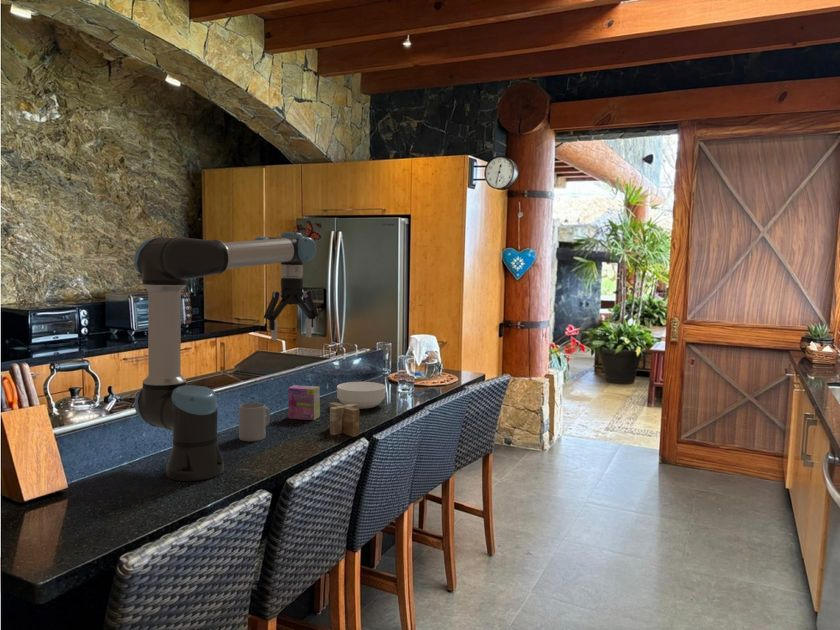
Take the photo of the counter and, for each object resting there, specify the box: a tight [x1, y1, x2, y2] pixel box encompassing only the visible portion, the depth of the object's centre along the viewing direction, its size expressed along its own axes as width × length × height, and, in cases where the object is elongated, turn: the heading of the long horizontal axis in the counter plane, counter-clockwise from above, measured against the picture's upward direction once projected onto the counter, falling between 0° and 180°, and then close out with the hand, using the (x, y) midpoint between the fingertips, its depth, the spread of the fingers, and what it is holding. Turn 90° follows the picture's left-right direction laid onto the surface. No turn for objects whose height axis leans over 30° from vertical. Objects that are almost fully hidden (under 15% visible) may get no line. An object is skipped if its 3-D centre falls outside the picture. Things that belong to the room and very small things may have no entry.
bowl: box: [336, 381, 386, 410], centre depth 260 cm, size 20×20×8 cm
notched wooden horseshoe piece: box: [329, 404, 359, 436], centre depth 222 cm, size 10×2×9 cm, turn 132°
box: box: [287, 384, 321, 421], centre depth 240 cm, size 10×6×12 cm, turn 76°
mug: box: [238, 402, 271, 442], centre depth 213 cm, size 12×8×11 cm
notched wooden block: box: [329, 401, 360, 437], centre depth 222 cm, size 2×14×9 cm, turn 42°
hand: (291, 338), depth 223 cm, fingers open, 13 cm apart
